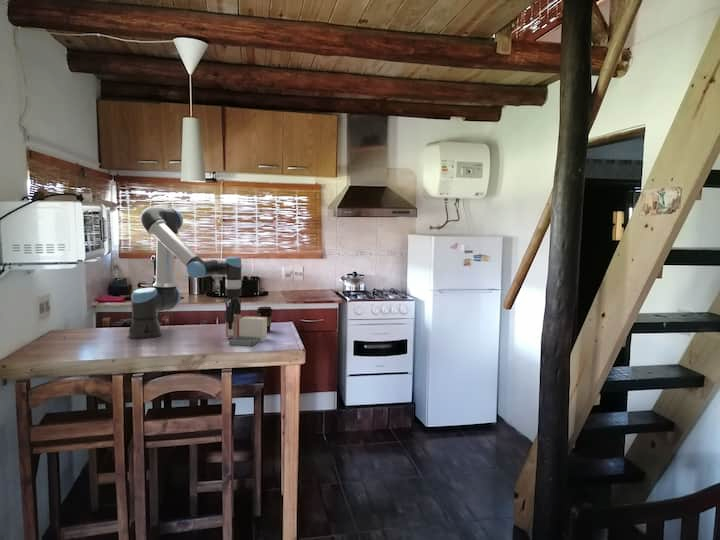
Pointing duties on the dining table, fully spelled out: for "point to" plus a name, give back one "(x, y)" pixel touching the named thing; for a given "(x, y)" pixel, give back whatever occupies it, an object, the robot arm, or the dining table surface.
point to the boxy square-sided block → (253, 327)
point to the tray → (244, 341)
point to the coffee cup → (265, 315)
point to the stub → (236, 326)
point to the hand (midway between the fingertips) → (233, 334)
